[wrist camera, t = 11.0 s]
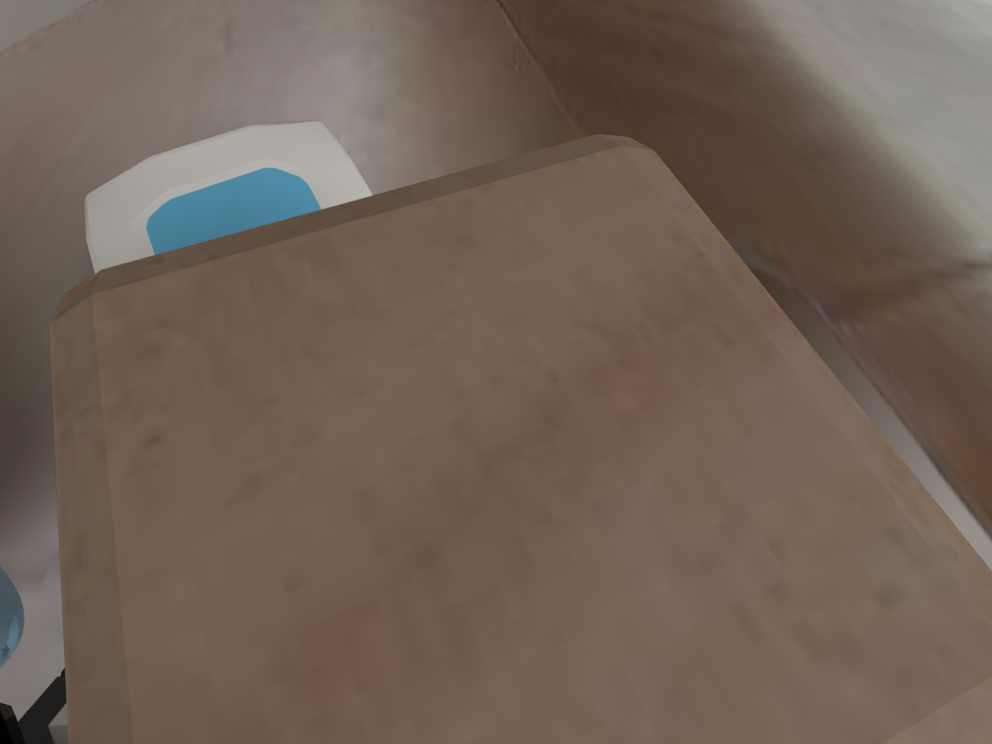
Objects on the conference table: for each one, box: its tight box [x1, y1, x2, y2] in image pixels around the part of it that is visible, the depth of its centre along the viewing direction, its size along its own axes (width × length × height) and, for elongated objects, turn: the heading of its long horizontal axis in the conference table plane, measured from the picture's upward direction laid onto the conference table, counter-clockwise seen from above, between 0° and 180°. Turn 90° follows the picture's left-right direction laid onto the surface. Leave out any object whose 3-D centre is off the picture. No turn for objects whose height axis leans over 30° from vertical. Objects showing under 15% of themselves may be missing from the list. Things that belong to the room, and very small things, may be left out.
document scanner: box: [84, 121, 373, 274], centre depth 43 cm, size 21×28×6 cm
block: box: [49, 134, 992, 744], centre depth 15 cm, size 10×10×20 cm
